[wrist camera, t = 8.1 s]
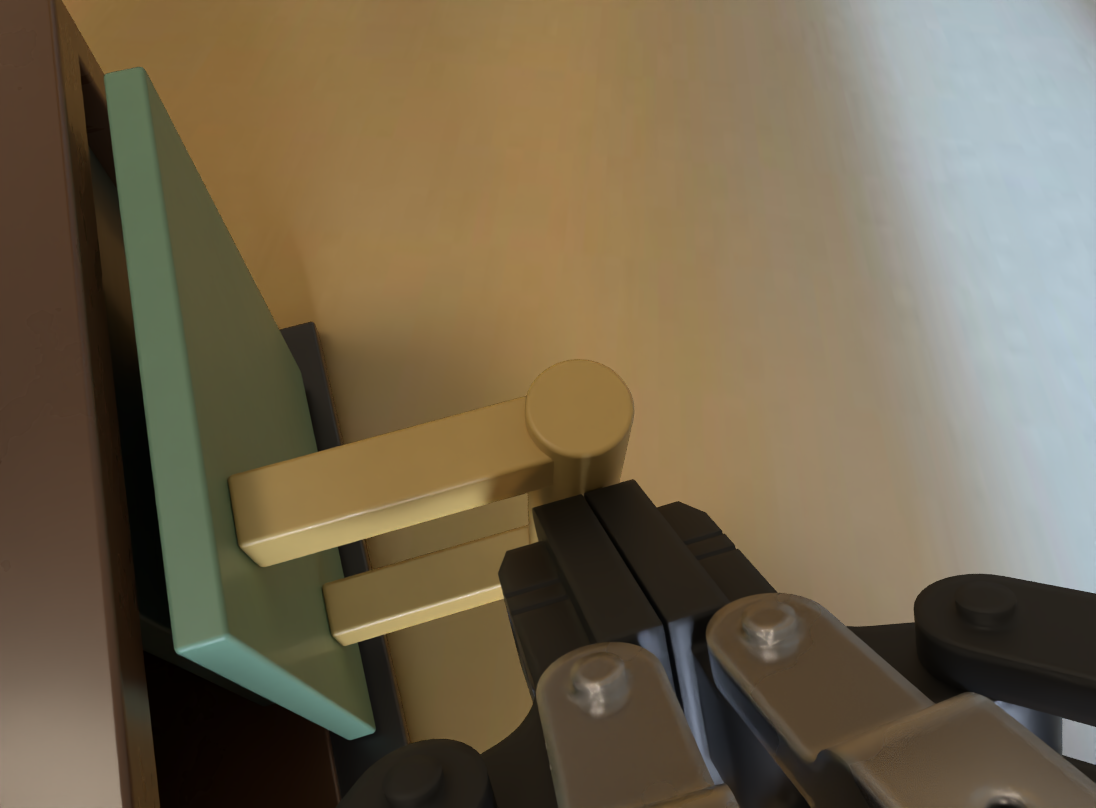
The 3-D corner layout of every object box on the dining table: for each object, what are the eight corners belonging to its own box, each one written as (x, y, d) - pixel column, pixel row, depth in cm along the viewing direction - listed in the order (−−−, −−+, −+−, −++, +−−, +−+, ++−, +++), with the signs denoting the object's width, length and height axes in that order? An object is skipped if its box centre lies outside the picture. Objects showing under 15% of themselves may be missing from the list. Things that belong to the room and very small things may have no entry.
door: (348, 741, 18) (172, 655, 9) (276, 377, 22) (101, 72, 13) (620, 656, 19) (688, 503, 10) (508, 317, 22) (488, -8, 14)
